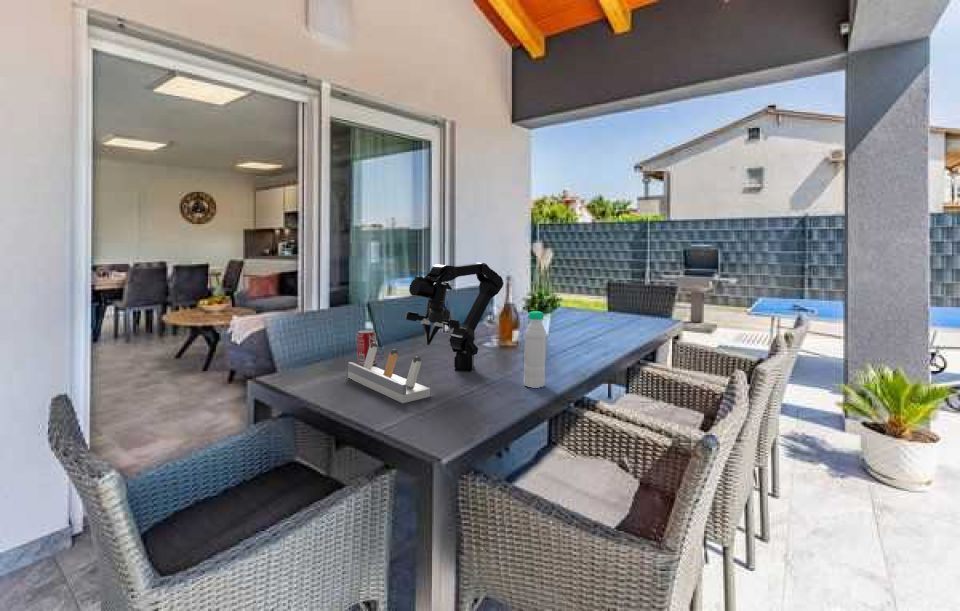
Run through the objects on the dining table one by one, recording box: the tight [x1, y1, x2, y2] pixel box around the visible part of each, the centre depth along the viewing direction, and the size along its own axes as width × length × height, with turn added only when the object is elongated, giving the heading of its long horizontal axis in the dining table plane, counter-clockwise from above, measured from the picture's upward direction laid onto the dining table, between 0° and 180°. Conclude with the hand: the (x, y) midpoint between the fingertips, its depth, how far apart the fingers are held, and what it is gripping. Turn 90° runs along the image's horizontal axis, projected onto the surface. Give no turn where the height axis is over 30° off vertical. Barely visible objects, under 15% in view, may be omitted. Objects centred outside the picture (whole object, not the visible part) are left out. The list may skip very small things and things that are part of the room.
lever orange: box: [383, 348, 399, 378], centre depth 160 cm, size 2×3×10 cm
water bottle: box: [523, 310, 547, 387], centre depth 161 cm, size 7×7×25 cm
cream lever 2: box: [405, 356, 422, 390], centre depth 151 cm, size 2×3×10 cm
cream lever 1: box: [362, 342, 378, 370], centre depth 170 cm, size 2×3×10 cm
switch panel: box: [347, 361, 431, 404], centre depth 160 cm, size 10×34×6 cm, turn 42°
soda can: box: [356, 329, 377, 367], centre depth 187 cm, size 7×7×13 cm
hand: (427, 344), depth 170 cm, fingers closed
